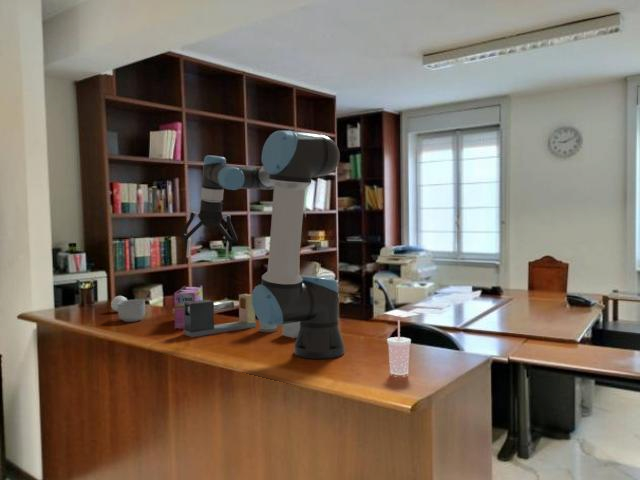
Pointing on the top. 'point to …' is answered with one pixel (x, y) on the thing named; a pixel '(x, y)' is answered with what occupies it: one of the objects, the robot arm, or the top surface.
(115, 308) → the white ovoid
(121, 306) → the teacup
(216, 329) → the base board
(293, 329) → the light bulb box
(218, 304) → the slip tube
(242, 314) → the sleeve and socket
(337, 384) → the top surface
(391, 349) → the beverage cup
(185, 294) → the gum box
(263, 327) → the travel mug
